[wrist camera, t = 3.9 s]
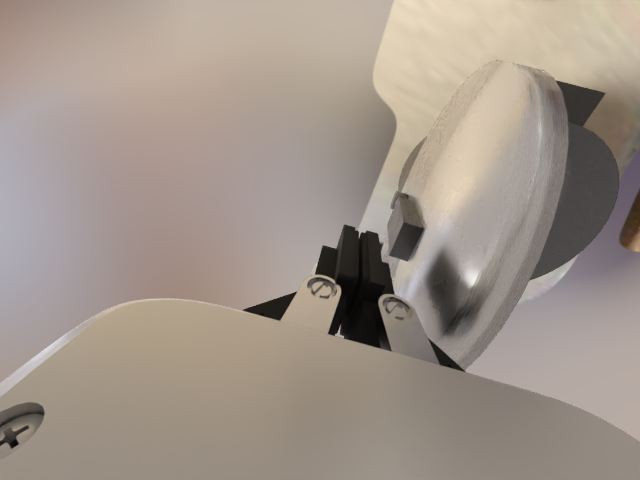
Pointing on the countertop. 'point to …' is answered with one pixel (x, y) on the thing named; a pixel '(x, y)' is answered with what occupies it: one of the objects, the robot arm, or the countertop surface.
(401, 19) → the countertop surface
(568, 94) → the cooker pot
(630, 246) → the countertop surface
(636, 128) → the countertop surface
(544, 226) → the lid
